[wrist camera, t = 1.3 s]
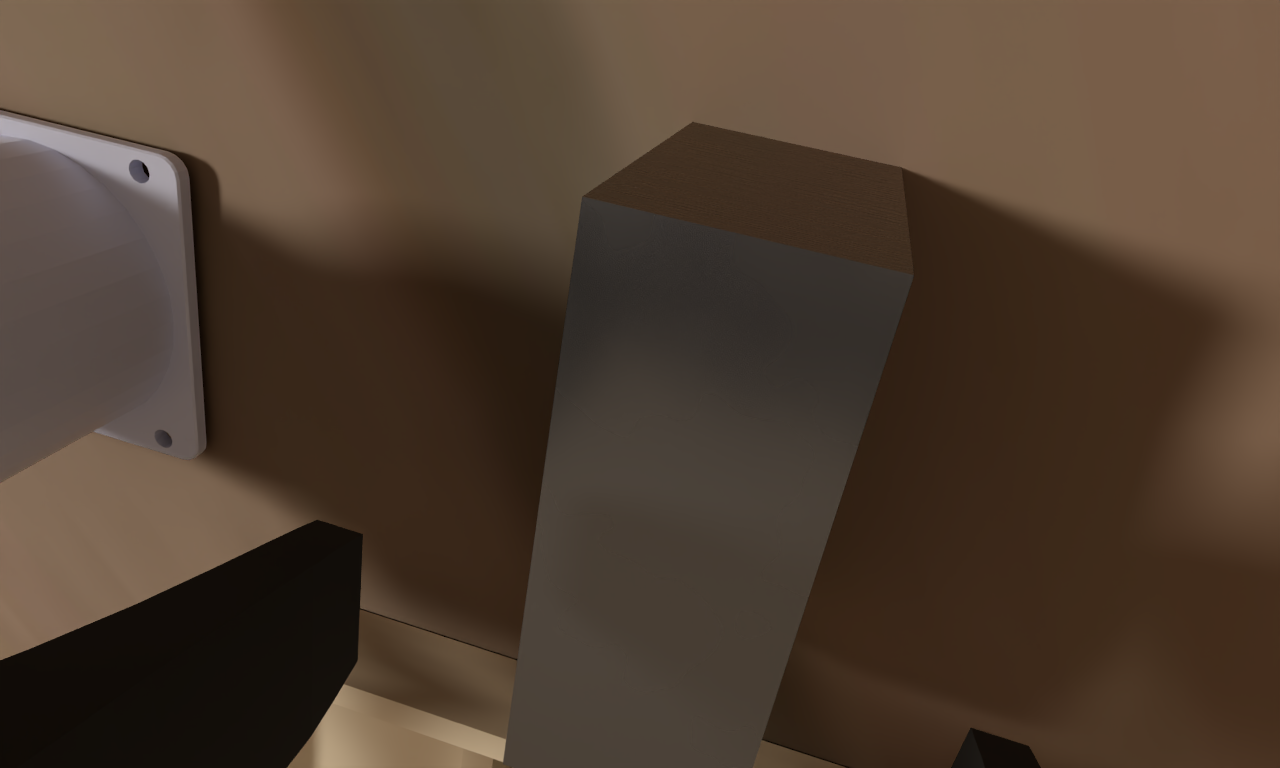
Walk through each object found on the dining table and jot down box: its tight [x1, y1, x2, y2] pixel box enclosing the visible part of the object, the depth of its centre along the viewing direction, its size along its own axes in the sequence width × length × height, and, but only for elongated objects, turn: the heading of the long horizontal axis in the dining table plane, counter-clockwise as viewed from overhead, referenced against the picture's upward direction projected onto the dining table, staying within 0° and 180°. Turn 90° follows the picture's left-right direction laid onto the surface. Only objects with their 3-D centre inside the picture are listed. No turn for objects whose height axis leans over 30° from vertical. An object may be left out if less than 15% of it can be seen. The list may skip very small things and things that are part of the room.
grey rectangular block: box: [503, 122, 914, 768], centre depth 15 cm, size 4×10×7 cm, turn 170°
